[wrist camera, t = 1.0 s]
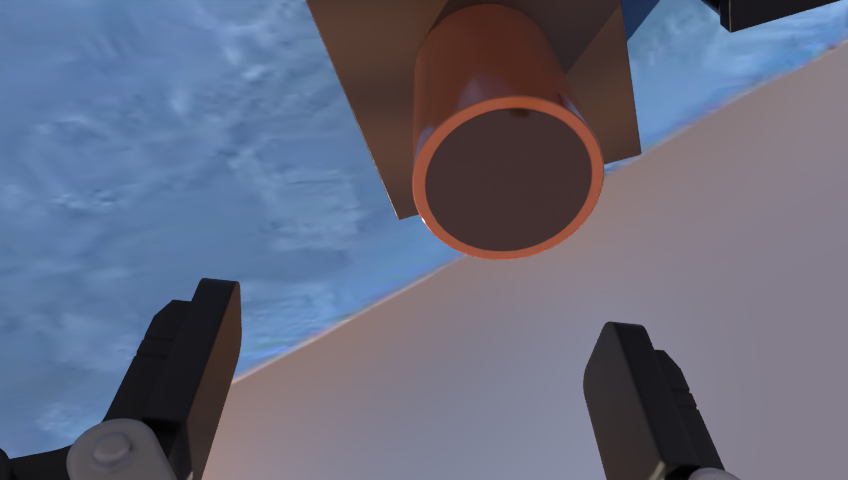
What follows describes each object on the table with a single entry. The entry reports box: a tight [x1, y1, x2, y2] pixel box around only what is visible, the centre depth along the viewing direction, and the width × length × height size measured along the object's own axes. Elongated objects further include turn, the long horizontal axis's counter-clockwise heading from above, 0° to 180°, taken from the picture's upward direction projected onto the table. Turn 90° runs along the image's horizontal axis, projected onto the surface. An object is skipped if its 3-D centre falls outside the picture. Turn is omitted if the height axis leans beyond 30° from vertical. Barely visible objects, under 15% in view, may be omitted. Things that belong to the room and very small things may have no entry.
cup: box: [412, 4, 604, 260], centre depth 24 cm, size 6×6×9 cm
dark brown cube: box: [306, 0, 641, 220], centre depth 31 cm, size 12×12×9 cm
